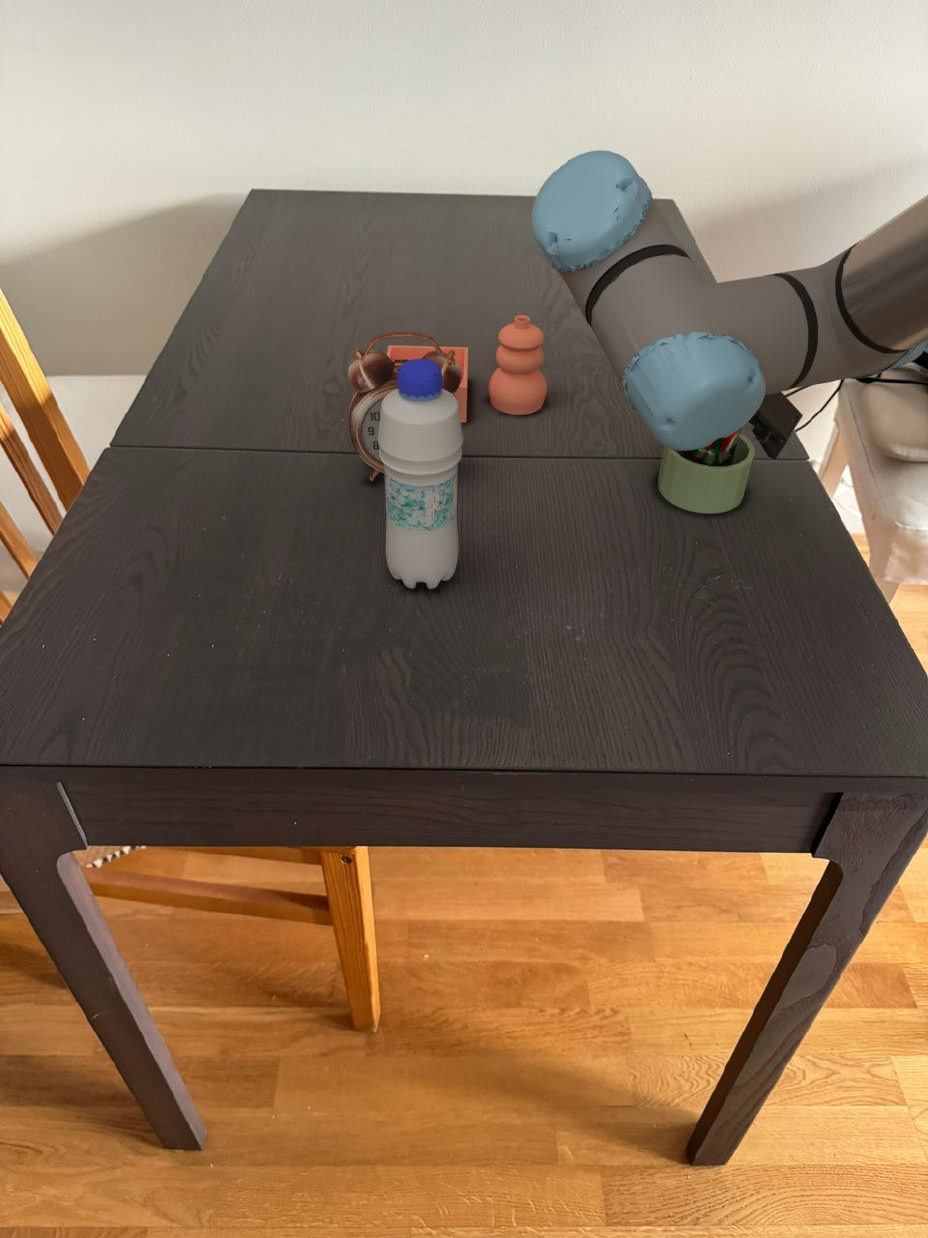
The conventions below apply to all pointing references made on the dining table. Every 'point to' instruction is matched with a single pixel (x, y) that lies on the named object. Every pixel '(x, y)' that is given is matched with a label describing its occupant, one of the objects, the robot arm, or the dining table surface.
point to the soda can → (715, 452)
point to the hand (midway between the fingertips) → (730, 423)
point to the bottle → (421, 475)
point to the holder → (705, 480)
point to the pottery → (500, 369)
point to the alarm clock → (385, 391)
